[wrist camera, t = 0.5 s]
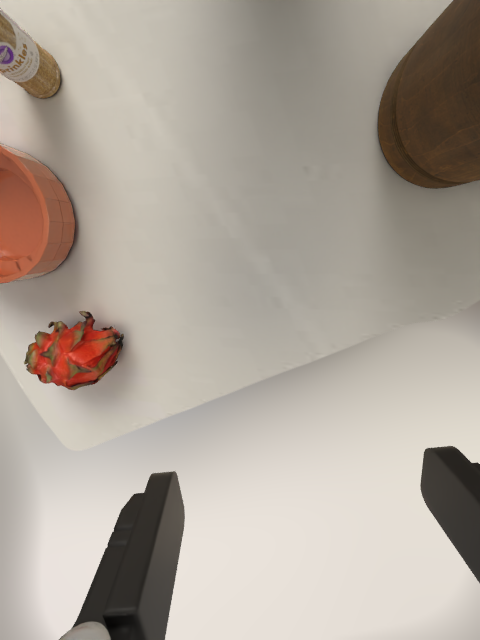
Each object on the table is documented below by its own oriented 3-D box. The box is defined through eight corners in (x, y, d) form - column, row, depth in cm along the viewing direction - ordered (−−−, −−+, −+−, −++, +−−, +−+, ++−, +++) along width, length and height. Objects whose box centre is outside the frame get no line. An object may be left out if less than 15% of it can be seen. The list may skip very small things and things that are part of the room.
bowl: (-58, 154, 33) (-115, 138, 28) (65, 147, 33) (29, 129, 27) (-22, 279, 37) (-66, 286, 32) (88, 274, 36) (61, 280, 31)
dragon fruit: (51, 345, 41) (135, 320, 41) (55, 405, 38) (145, 377, 38) (1, 323, 33) (105, 293, 33) (0, 398, 30) (115, 363, 30)
